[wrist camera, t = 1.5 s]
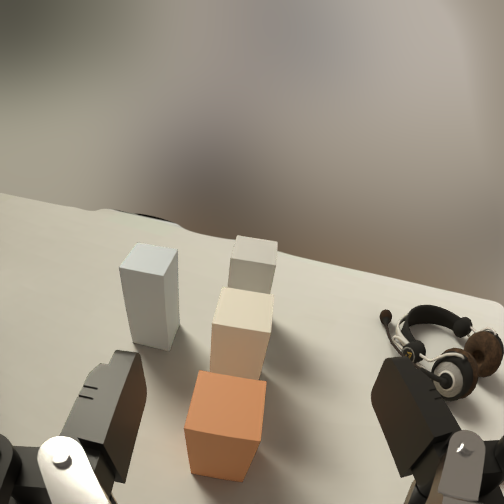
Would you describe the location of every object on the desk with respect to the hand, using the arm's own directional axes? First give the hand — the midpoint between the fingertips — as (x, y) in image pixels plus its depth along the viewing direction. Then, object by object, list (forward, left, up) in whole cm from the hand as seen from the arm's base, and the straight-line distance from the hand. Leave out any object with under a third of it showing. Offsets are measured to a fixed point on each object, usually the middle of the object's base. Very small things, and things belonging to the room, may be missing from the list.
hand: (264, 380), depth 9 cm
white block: (-12, +20, -23) cm, 33 cm away
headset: (+28, +22, -24) cm, 43 cm away
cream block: (-1, +15, -23) cm, 28 cm away
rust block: (-1, +5, -23) cm, 24 cm away
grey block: (-1, +25, -23) cm, 34 cm away
